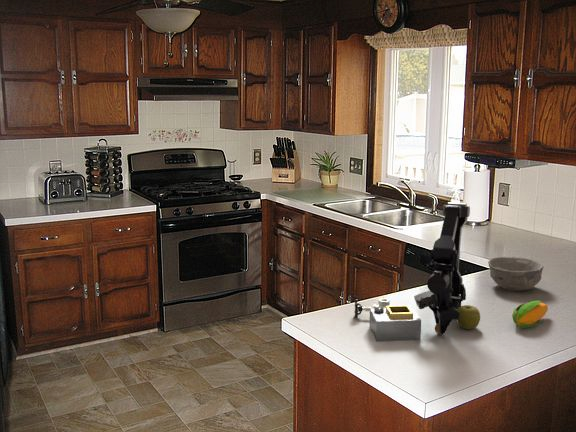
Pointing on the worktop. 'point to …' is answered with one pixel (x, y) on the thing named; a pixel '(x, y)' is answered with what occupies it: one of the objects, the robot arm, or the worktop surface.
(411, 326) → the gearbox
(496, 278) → the bowl
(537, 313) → the corn
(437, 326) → the bead
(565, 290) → the worktop surface
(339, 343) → the worktop surface
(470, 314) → the apple
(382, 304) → the valve
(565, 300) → the worktop surface
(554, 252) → the worktop surface
